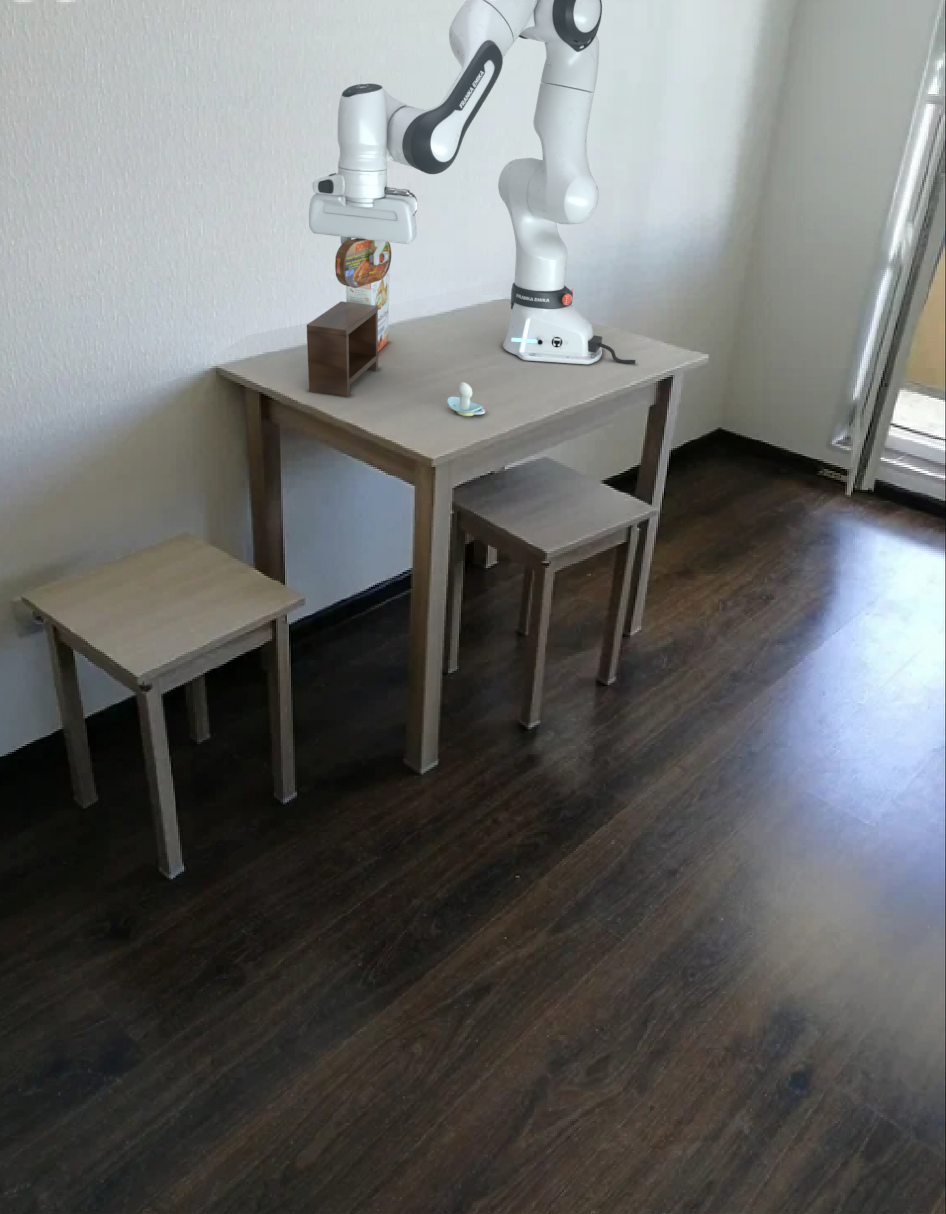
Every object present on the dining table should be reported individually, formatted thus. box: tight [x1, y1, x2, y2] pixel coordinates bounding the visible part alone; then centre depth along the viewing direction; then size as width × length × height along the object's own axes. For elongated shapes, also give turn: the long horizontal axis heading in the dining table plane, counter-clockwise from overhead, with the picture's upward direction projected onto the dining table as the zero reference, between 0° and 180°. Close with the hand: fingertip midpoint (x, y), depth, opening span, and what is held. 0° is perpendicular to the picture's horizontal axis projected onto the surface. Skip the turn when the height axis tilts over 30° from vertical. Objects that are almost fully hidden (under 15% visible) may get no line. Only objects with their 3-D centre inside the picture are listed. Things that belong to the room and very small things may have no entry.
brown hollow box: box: [306, 300, 379, 398], centre depth 197 cm, size 8×18×13 cm, turn 165°
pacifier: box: [447, 381, 486, 417], centre depth 187 cm, size 7×6×6 cm
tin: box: [334, 238, 392, 288], centre depth 187 cm, size 15×3×8 cm, turn 149°
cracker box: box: [345, 266, 391, 353], centre depth 212 cm, size 14×6×21 cm, turn 168°
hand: (362, 262), depth 187 cm, fingers closed on tin, 3 cm apart
